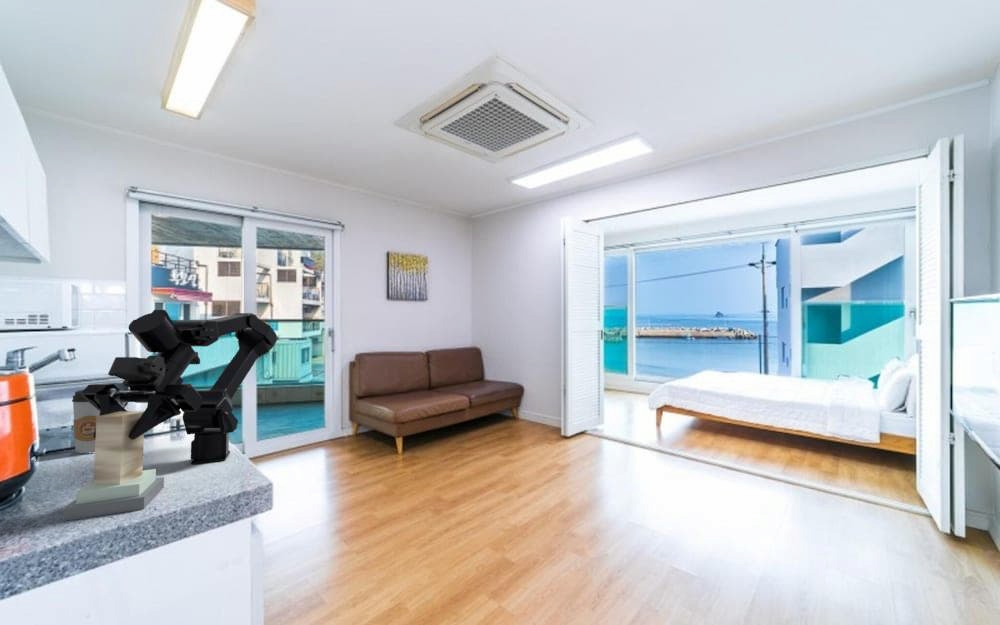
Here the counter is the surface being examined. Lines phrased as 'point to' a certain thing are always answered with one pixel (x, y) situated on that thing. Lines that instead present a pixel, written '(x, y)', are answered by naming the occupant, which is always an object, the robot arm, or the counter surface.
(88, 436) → the coffee cup
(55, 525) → the counter surface
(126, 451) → the pillar
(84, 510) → the tower base
